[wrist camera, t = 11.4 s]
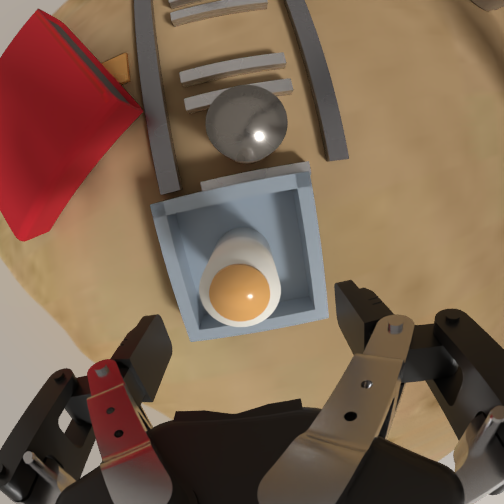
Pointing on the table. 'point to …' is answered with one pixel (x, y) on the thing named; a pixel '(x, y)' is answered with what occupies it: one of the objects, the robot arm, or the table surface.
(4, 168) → the red device housing
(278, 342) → the table surface
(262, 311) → the halved boiled egg
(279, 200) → the tray
